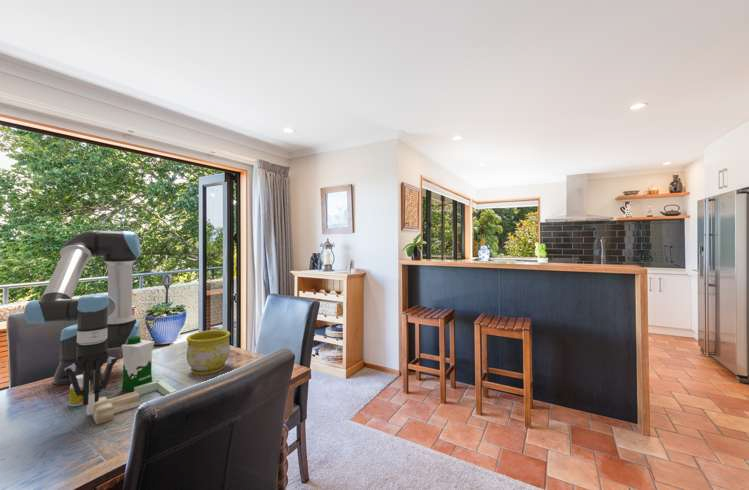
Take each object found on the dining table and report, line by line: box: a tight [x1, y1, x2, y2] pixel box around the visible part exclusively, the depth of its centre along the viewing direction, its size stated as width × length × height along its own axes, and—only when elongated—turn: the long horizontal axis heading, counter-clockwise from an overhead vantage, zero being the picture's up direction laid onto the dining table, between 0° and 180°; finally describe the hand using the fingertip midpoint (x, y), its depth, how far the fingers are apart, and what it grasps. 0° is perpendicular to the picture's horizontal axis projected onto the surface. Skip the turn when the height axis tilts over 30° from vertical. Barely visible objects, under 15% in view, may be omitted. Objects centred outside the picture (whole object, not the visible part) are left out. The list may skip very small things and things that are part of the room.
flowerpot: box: [186, 329, 231, 376], centre depth 142 cm, size 18×18×16 cm
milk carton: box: [121, 335, 155, 392], centre depth 124 cm, size 9×9×20 cm
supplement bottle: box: [68, 374, 91, 407], centre depth 111 cm, size 5×5×10 cm
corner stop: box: [133, 379, 177, 396], centre depth 116 cm, size 16×9×3 cm, turn 53°
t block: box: [90, 391, 140, 425], centre depth 106 cm, size 12×12×4 cm
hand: (90, 413), depth 100 cm, fingers closed
